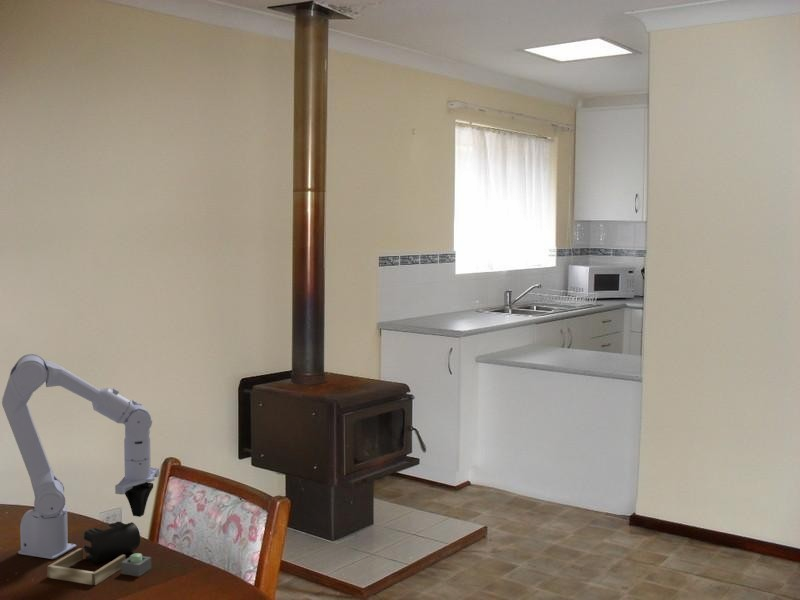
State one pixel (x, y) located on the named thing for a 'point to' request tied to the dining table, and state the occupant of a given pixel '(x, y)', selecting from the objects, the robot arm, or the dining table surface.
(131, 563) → the button housing
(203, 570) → the dining table surface
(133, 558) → the button
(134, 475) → the robot arm
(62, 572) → the cream square frame
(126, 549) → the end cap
